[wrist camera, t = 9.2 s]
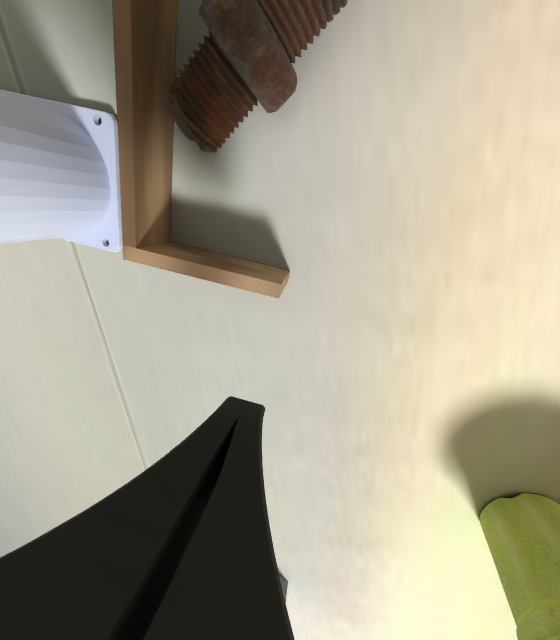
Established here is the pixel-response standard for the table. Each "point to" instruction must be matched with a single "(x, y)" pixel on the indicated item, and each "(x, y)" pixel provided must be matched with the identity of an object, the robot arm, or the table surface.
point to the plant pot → (527, 560)
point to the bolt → (243, 63)
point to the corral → (161, 153)
